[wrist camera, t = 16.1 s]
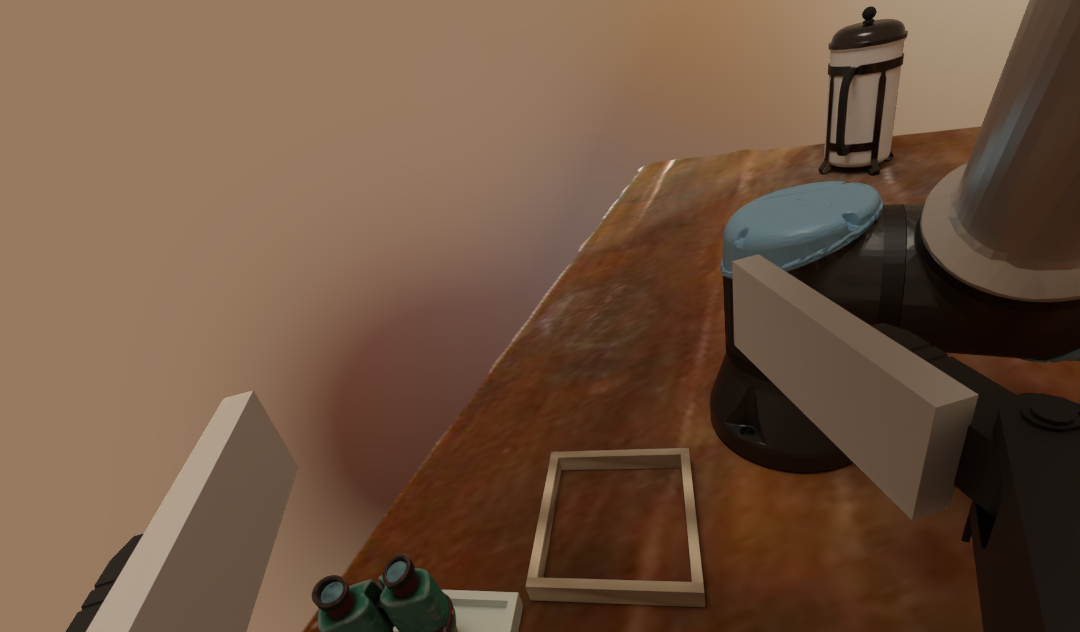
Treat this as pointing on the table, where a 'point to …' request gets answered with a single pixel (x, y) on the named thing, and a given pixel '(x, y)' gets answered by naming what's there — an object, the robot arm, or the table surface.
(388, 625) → the binoculars
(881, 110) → the coffee press
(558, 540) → the table surface
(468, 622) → the tray
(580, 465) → the holder
